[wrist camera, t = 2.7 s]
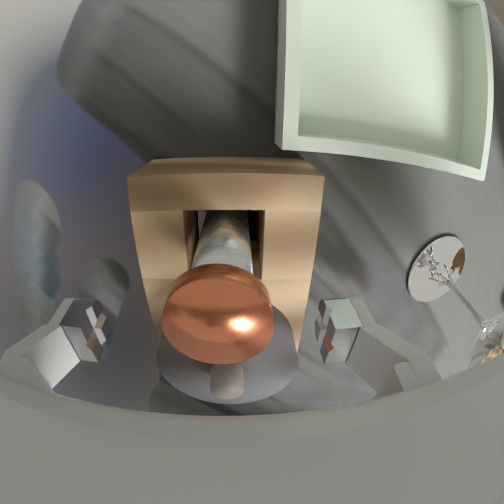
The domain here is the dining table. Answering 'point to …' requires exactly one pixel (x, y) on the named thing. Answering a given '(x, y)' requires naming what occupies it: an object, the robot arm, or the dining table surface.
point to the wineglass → (442, 279)
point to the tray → (387, 81)
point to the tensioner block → (262, 253)
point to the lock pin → (220, 296)
